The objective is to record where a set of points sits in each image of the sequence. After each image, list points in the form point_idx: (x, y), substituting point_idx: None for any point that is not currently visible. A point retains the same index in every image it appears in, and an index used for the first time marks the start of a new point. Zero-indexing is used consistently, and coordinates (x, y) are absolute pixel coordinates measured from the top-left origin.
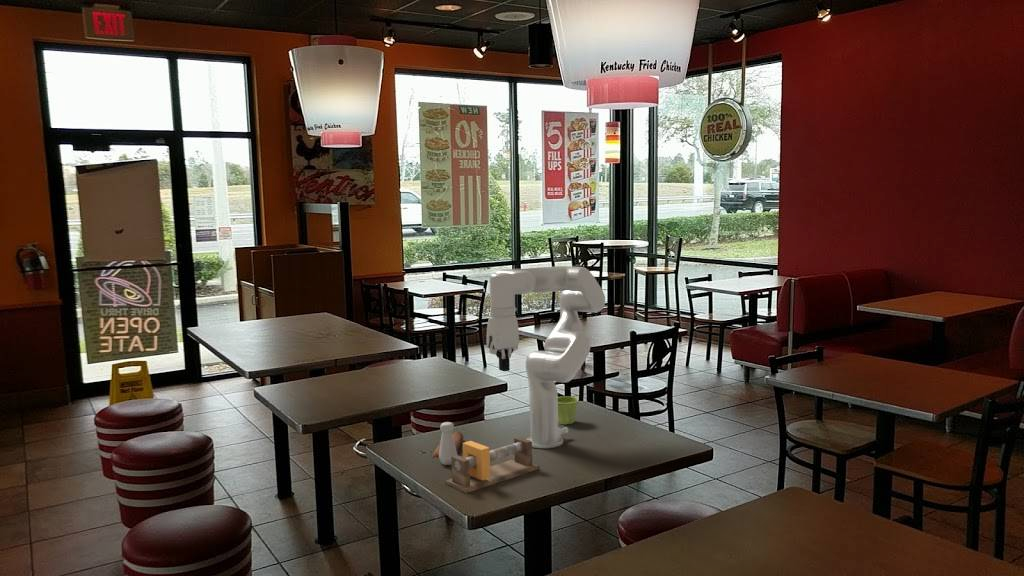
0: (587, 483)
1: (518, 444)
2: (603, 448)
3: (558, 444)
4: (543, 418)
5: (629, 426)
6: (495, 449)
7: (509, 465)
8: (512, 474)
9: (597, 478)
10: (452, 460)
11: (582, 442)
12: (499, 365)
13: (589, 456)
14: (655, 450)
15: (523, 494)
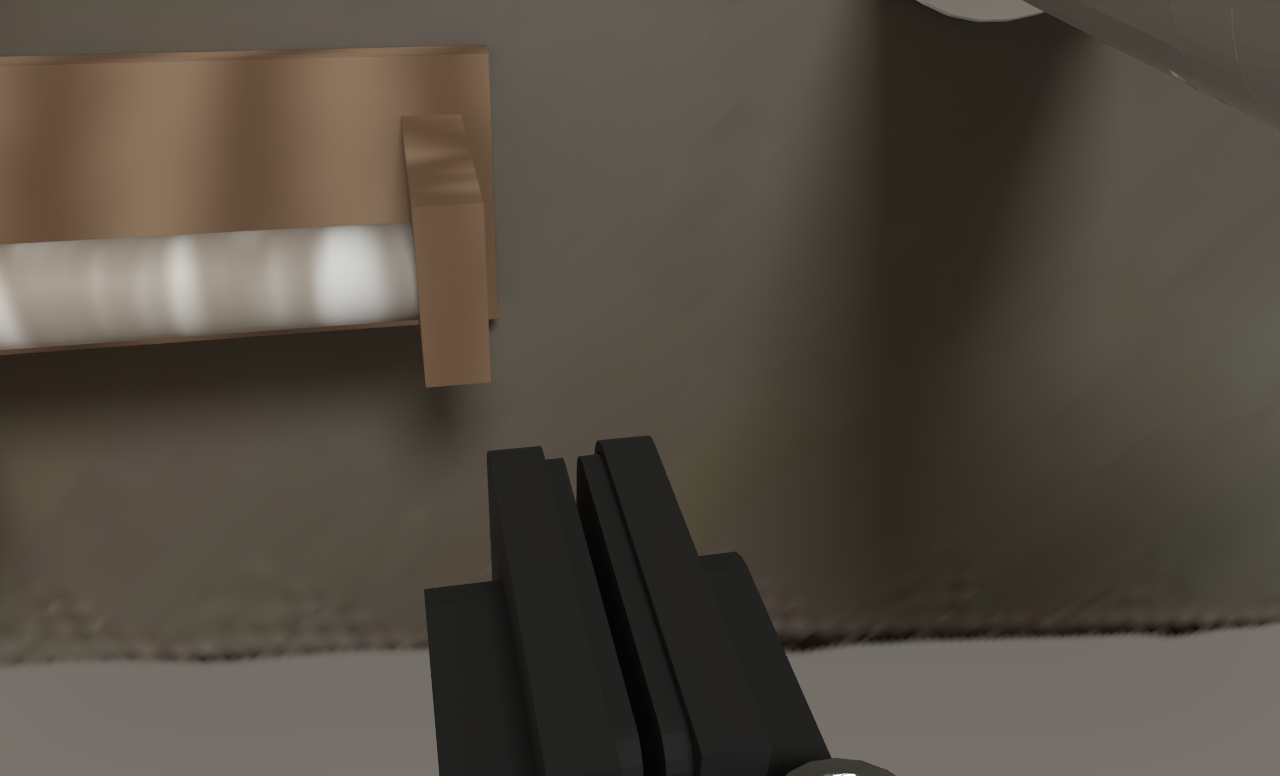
0: None
1: (367, 318)
2: (1131, 276)
3: (1003, 18)
4: (1059, 2)
5: None
6: (56, 318)
7: (299, 163)
8: (198, 340)
9: None
10: None
11: None
12: (430, 653)
13: (935, 334)
14: (1236, 489)
15: (95, 587)
